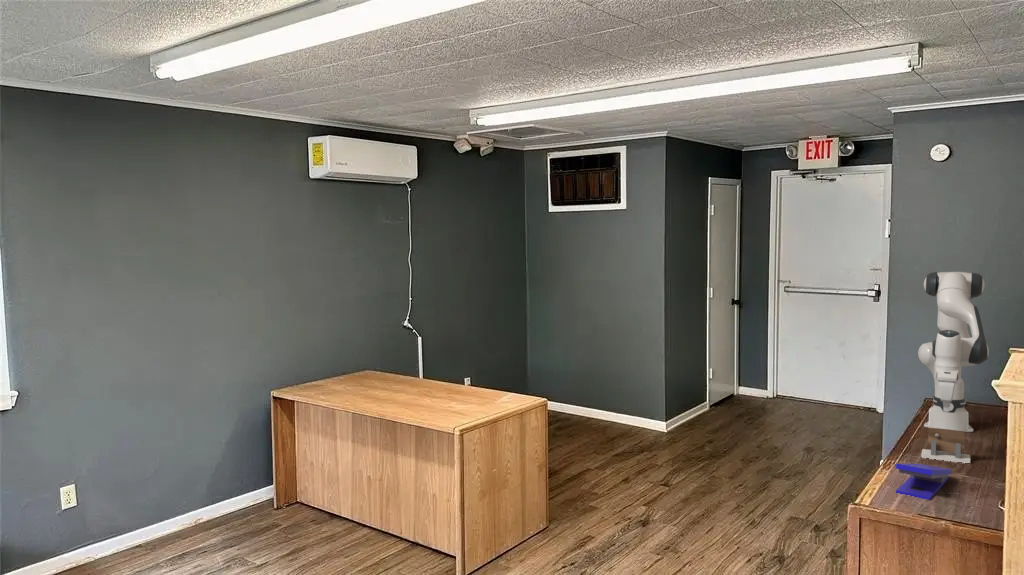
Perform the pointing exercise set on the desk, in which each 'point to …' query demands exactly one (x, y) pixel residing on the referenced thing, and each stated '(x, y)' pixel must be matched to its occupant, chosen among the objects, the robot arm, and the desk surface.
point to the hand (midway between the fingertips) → (946, 408)
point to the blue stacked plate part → (922, 480)
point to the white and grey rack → (945, 454)
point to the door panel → (946, 439)
